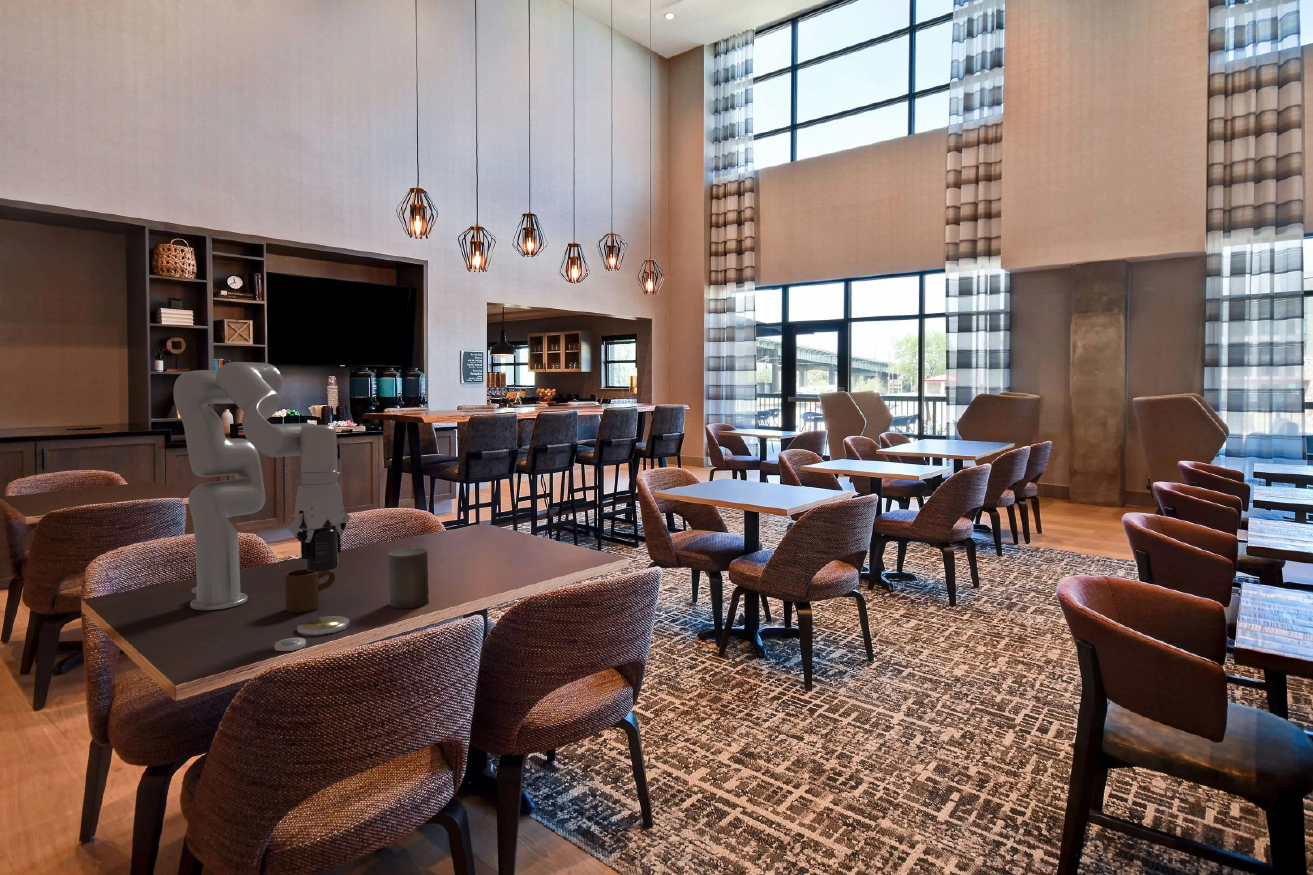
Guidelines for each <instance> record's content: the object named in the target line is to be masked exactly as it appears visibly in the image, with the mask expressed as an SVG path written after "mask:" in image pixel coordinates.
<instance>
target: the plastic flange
mask: <svg viewBox="0 0 1313 875" xmlns="http://www.w3.org/2000/svg"><path fill="white" fill-rule="evenodd" d="M306 646H307V640H306V638H303V637H291V638H290V637H289V638H284V639H281V640H279V641H277V642H275V643H274V651H275V650H276V651H275V652H277V651H292V652H295V651H294V650H296V651H299V650H298V649H300V650H302V649H304V648H305V647H306ZM303 647H304V648H303ZM301 648H302V649H301Z"/></svg>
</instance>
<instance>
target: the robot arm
mask: <svg viewBox="0 0 1313 875" xmlns="http://www.w3.org/2000/svg"><path fill="white" fill-rule="evenodd" d="M282 385H283V377H282V373H281V372H280V371H279V369H277V367H276V366H275V365H272V364H271V363H267V362H252V361H251V362H248V361H246V362H245V361H232V362H228V363H225V364H224V365H222V366H220V368H219V369H218V370H214V369H213V370H209V369H200V370H197V369H196V370H192V371H191V370H190V371H186V372H184V373H182V374H180V375H179V376H178V377H177V378H176V380H175V382H174V386H173V401H174V404H175V408H176V410H177V413H178V415H179V417H180V419H181V421H182V425H183V429H184V436H185V441H186V447H187V454H188V460H189V465H190V468H191V470H192V472H193V474H194V475H196V476H197V477H202V478H210V477H211V478H213V477H222V476H223V477H225V476H231V475H232V476H234V479H230V480H227V479H226V480H218V481H210V482H205V483H202V484H199V485H197V486H195V487H194V488H193V489H192V490H191V491H190V493H189V496H188V506H189V511H190V515H191V519H192V523H193V531H194V546H195V565H196V566H195V569H196V570H195V571H196V575H195V576H196V586H195V587H193V588H192V589H191V592H192V593H193V594H195V595H196V596H195V597H196V598H195V599H193V600H192V601H190V603H189V605H190V608H191V609H193V610H197V611H217V610H223V609H229V608H232V607H233V608H234V607H236V606H239V605H243V604H244V603H246V602H247V601H248V595H247V594H246V593H243V592H241V573H240V570H241V569H240V546H239V534H238V530H237V528H236V527H235V526H234V524H232V522H231V521H230V520H229V519H230V518H233V517H237V516H239V517H240V516H244V515H251V514H255V513H257V512H259V511H261V510H262V509H263V507H264V505H265V504H266V489H265V483H264V477H263V471H262V465H261V459H260V454H261V455H263V456H265V457H269V458H282V457H292V456H300V472H301V473H300V477H301V479H300V480H301V482H300V484H301V485H299V486H297V491H296V495H295V503H294V504H295V505H294V520H293V521H292V523H291V524H290V525H288V529H287V530H288V531H290V532H291V534H293V536H294V537H295V538H296V539H297V541H298V542H300V556H301V559H302V560H306V559H308V560H312V559H313V558H314V549H313V542H310V541H311V539H312V536H313V533H314V531H315V530H317V529H321V528H323V527H322V526H323V525H324V524H325V522H326V521H327V519H328V521H329V519H330V522H331V523H332V525H330V526H331V527H332V528H334V529H335V530H336V531H337V543H338V554H340V553H341V551H342V547H341V546H342V545H341V543H342V542H341V538H342V535H344V534H343V533H344V530H345V528H346V527H347V524H348V523H349V521H350V519H351V516H350V515H349V514H348V513H347V512H346V511H345V510H344V502H343V495H342V490H341V486H340V483H339V482H338V478H339V477H340V476H341V473H340V472H339V471H338V448H337V447H338V445H337V441H338V440H337V430H336V428H335V427H334V426H332V425H329V424H328V425H327V424H315V423H309V422H301V423H295V422H294V423H274V424H273V423H271V422H269V421H268V419H269V418H271V417H273V416H274V415H275V414H276V413H277V411H278V410H279V408H280V406H281V396H280V395H279V394H278V393H280V391H281V389H282V387H283V386H282ZM212 404H219V405H220V404H222V405H225V404H227V405H228V404H235V405H236V406H237V407H238V408H239V409H240V411H242V412H243V414H242V419H241V425H242V426H241V427H242V431H243V434H244V436H245V438H241V437H240V438H227V437H226V434H225V429H224V424H223V423H224V422H223V421H222V420H223V419H221V417H220V416H219V414H217V412H216V411H215V410H214V409H213V408H211V406H209V405H212ZM259 453H260V454H259ZM307 531H308V532H307ZM306 533H307V535H306Z"/></svg>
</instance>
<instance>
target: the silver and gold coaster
mask: <svg viewBox="0 0 1313 875" xmlns="http://www.w3.org/2000/svg"><path fill="white" fill-rule="evenodd" d="M348 626H349V627H350V619H349V618H348V617H345V616H339V615H329V616H320V617H319V616H318V617H314V618H309V619H308V620H307V619H306V620H304V621H302V622H300V623H299V624H297V626H296V630H297V633H298V635H299V634H300V635H301V636H307V637H317V636H319V635H321V636H325V635H324V634H328V635H330V634H329V633H333V634H337V633H339V631H340V632H342V631H341V630H343V629H345V630H347V629H348V628H349V627H348ZM347 627H348V628H347ZM346 628H347V629H346ZM343 631H344V630H343ZM336 632H337V633H336Z"/></svg>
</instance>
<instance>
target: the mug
mask: <svg viewBox="0 0 1313 875" xmlns="http://www.w3.org/2000/svg"><path fill="white" fill-rule="evenodd" d="M326 576H328V579H327V581H326V582H321V583H320V584H319V580H320V579H322V578H324V577H326ZM335 581H336V574H335V572H334V571H333V570H329V571H322V572H311V571H308V570H307V569H306V568H301V569H295V570H291V571H288V572H286V573H285V575H284V598H285V599H284V601H285V602H284V603H285V609H286V611H287V612H288V613H292V614H301V613H309V612H311V611H315V610H316V609H319V608H318V607H319V606H320V597H319V594H320V593H321V592H323V591H324V590H327V589H329V588H330V587H332V586H333V585H334V583H335Z"/></svg>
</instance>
